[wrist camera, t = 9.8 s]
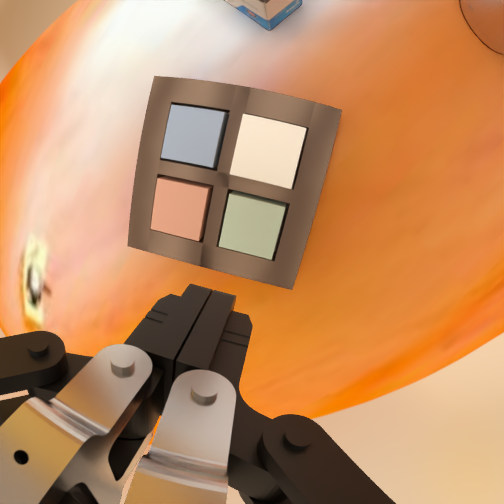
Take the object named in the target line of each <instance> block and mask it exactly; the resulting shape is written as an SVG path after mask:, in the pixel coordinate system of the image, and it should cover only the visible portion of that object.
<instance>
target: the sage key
mask: <svg viewBox="0 0 504 504" xmlns="http://www.w3.org/2000/svg"><path fill="white" fill-rule="evenodd" d="M285 205H286V203H285V202H281V201H278V200H274V199H270V198H266V197H262V196H257V195H253V194H249V193H245V192H241V191H236V190H234V191H232V192H231V193H230V194H229V198H228V203H227V208H226V213H225V218H224V222H223V227H222V232H221V237H220V242H219V247H223V248H227V249H231V250H235V251H239V252H243V253H247V254H250V255H254V256H258V257H262V258H266V259H270V260H272V256H273V253H274V249H275V245H276V241H277V238H278V234H279V230H280V226H281V222H282V219H283V215H284V211H285Z"/></svg>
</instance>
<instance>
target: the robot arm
mask: <svg viewBox="0 0 504 504" xmlns="http://www.w3.org/2000/svg"><path fill="white" fill-rule="evenodd" d="M460 4H461V8H462V12H463V14H464V16H465V18H466V21H467V22H468V24H469V25H470V27H471V29H472V30H473V31H474V33H475V34H476V35H477V36H478V37H479V38H480V39H481V41H482V42H484V43H485V44H486V45H487V46H488V47H489V48H491V49H492V50H494V51H496V52H498V53H500V54H504V0H460ZM235 300H236V296H235V295H231V294H227V293H223V292H220V291H216V290H214V291H213V290H212V289H208V288H204V287H201V286H197V285H193V284H190V285H189V286H188V287H187V289H186V290H185V291H184V293H183V294H182V296H181V297H180V296H176V295H173V294H170V295H168V296H166V297H164V298H161V299H159V300H158V301H157V303H156V304H155V305H154V306H153V307H152V309H151V311H149V312H148V314H147V315H146V316H145V318H144V319H143V320H142V321H141V322H140V324H139V325H138V326H137V327H136V329H135V330H134V331H133V332H132V334H131V335H130V336H129V337H128V339H127V340H126V341H125V343H124V344H116V345H111V346H108V347H105V348H104V349H102V350H101V351H100V352H98V353H97V354H96V355H95V356H94V357H89V356H82V355H76V354H71V353H66V351H65V346H64V343H63V341H62V340H61V338H60V337H58V336H57V335H55V334H53V333H51V332H47V331H35V332H29V333H24V334H19V335H14V336H9V337H4V338H0V395H4V394H8V393H13V392H18V391H23V390H28V393H29V395H25V396H20V397H16V398H11V399H6V400H1V401H0V504H119V503H120V500H121V496H122V490H123V487H124V485H125V483H126V481H127V479H128V478H129V476H130V474H131V472H132V471H133V469H134V467H135V466H136V464H137V462H138V460H139V459H140V457H141V455H142V454H143V452H144V450H145V449H146V447H147V445H148V443H149V442H150V440H151V438H152V436H153V432H154V431H153V428H154V426H155V424H156V422H157V420H158V418H159V416H160V415H161V419H160V422H159V425H158V428H157V431H156V433H155V436H154V439H153V442H152V445H151V448H150V450H149V452H148V454H147V455H143V456H142V458H141V459H140V461H139V463H138V466H137V468H136V471H135V474H134V477H133V479H132V482H131V485H130V488H129V491H128V494H127V497H126V500H125V503H124V504H226V499H227V490H228V485H229V486H230V487H232V488H234V489H236V490H238V491H239V494H240V496H241V498H242V499H243V501H244V502H245V504H396V503H395V502H393V500H392V499H390V498H389V497H388V496H387V495H386V494H385V493H384V492H383V491H382V490H381V489H380V488H379V487H378V486H377V485H376V484H375V483H374V482H373V481H372V480H371V479H370V478H369V477H368V476H367V475H366V474H365V473H364V472H363V471H362V470H361V469H360V468H359V467H358V466H357V465H356V464H355V463H354V462H353V461H352V460H351V459H350V457H349V456H348V455H347V454H346V453H345V452H344V451H343V450H342V449H341V448H340V447H339V446H338V445H337V444H336V443H335V442H334V440H332V438H331V437H330V436H329V435H328V434H327V433H326V432H325V431H324V430H323V428H322V427H321V426H320V425H318V424H317V423H315V422H314V421H313V420H311V419H309V418H307V417H304V416H300V415H294V414H287V415H281V416H278V417H276V418H274V419H270V418H268V417H266V416H264V415H262V414H260V413H258V412H257V411H255V410H253V409H252V408H251V407H249V406H248V405H247V404H246V403H245V401H244V400H243V399H242V397H241V395H240V391H239V382H240V377H241V373H242V369H243V365H244V361H245V357H246V352H247V348H248V344H249V340H250V335H251V331H252V327H253V325H252V323H251V321H250V318H249V316H248V315H246V314H242V313H239V312H235V311H233V310H234V305H235Z"/></svg>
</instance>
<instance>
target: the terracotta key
mask: <svg viewBox="0 0 504 504" xmlns="http://www.w3.org/2000/svg"><path fill="white" fill-rule="evenodd" d="M213 188H214V185H210V184H206V183H201V182H196V181H192V180H187V179H182V178H177V177H172V176H164V177H160V178H157V184H156V190H155V197H154V205H153V212H152V220H151V229H153V230H157V231H161V232H164V233H168V234H172V235H176V236H180V237H184V238H188V239H192V240H196V241H199V240H200V239H201V238H202V237H203V236H204V235H205V230H206V224H207V219H208V214H209V208H210V203H211V198H212V193H213Z"/></svg>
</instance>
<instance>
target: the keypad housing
mask: <svg viewBox="0 0 504 504" xmlns="http://www.w3.org/2000/svg"><path fill="white" fill-rule="evenodd" d="M171 105H179V106H187V107H194V108H201V109H207V110H214V111H220V112H225V113H227V114H229V118H228V123H227V127H226V132H225V136H224V140H223V145H222V150H221V154H220V159H219V164H218V166H216V167H213V168H212V167H208V166H203V165H198V164H193V163H188V162H182V161H177V160H172V159H166V158H161V154H162V148H163V143H164V138H165V133H166V128H167V123H168V118H169V113H170V109H171ZM341 112H342V110H340V109H337V108H334V107H330V106H327V105H323V104H320V103H316V102H312V101H308V100H305V99H301V98H297V97H292V96H288V95H284V94H279V93H275V92H270V91H265V90H260V89H255V88H250V87H244V86H238V85H232V84H225V83H219V82H211V81H203V80H195V79H185V78H174V77H160V76H154V80H153V84H152V88H151V92H150V96H149V101H148V105H147V110H146V115H145V120H144V125H143V130H142V135H141V141H140V147H139V153H138V159H137V165H136V172H135V179H134V187H133V195H132V203H131V212H130V223H129V234H128V246H129V247H133V248H136V249H140V250H143V251H147V252H150V253H154V254H158V255H161V256H165V257H168V258H172V259H176V260H179V261H183V262H187V263H190V264H194V265H198V266H201V267H205V268H209V269H213V270H216V271H220V272H224V273H228V274H232V275H235V276H239V277H243V278H247V279H251V280H255V281H259V282H263V283H267V284H271V285H275V286H279V287H283V288H287V289H291V290H292V289H293V286H294V282H295V279H296V276H297V273H298V270H299V266H300V263H301V260H302V257H303V253H304V250H305V247H306V243H307V240H308V236H309V233H310V230H311V226H312V223H313V219H314V216H315V212H316V209H317V205H318V201H319V198H320V194H321V191H322V187H323V183H324V179H325V176H326V172H327V168H328V164H329V160H330V157H331V153H332V149H333V145H334V141H335V137H336V133H337V128H338V124H339V120H340V116H341ZM243 114H247V115H252V116H257V117H262V118H267V119H271V120H275V121H280V122H284V123H288V124H292V125H296V126H300V127H304V128H306V132H305V136H304V140H303V144H302V148H301V152H300V156H299V160H298V164H297V168H296V172H295V176H294V180H293V184H292V188H291V189H289V188H285V187H281V186H277V185H273V184H269V183H265V182H261V181H257V180H252V179H248V178H244V177H239V176H235V175H231V174H230V169H231V165H232V160H233V156H234V151H235V147H236V142H237V138H238V134H239V129H240V125H241V121H242V116H243ZM164 176H172V177H177V178H182V179H187V180H192V181H196V182H201V183H206V184H210V185H214V188H213V193H212V198H211V203H210V208H209V214H208V219H207V224H206V230H205V235H204V236H203V237H202V238H201V239H200V240H199V241H196V240H192V239H188V238H184V237H180V236H176V235H172V234H168V233H164V232H161V231H157V230H153V229H151V220H152V212H153V205H154V197H155V190H156V184H157V178H160V177H164ZM234 190H236V191H241V192H245V193H249V194H253V195H257V196H262V197H266V198H270V199H274V200H278V201H281V202H285V203H286V205H285V211H284V215H283V219H282V222H281V226H280V230H279V234H278V238H277V241H276V245H275V249H274V253H273V256H272V260H270V259H266V258H262V257H258V256H254V255H250V254H247V253H243V252H239V251H235V250H231V249H227V248H223V247H219V242H220V237H221V232H222V227H223V222H224V218H225V213H226V208H227V203H228V198H229V194H230V193H231V192H232V191H234Z"/></svg>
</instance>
